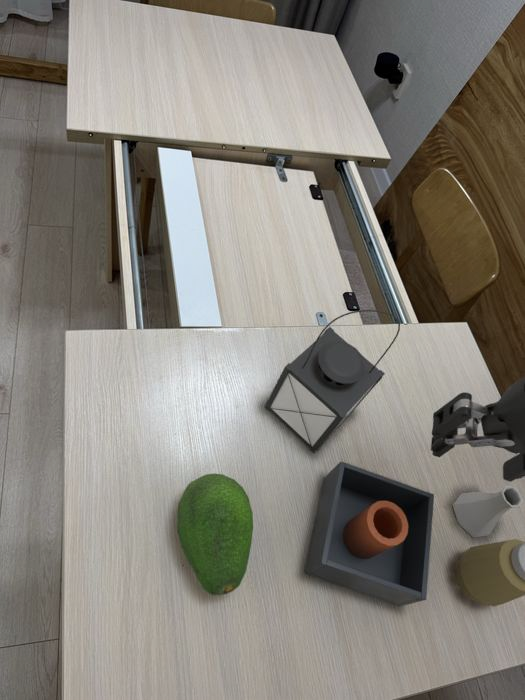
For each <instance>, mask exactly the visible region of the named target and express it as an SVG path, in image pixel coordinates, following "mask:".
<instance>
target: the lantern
mask: <svg viewBox="0 0 525 700" xmlns="http://www.w3.org/2000/svg"><path fill="white" fill-rule="evenodd" d="M363 312H375V313H381V314H386V315H389V316H391V317H392V318H394V320H396V323H397V324H398V325H397V331H396V334H395V335H394V338H393V339H392V341H391V343H389V345H388V347H387V348H386V350H385V351H384V352H383V354H382V355H381V356H380V358H379V359H378V360H377V362H375V364H373V363H372V362H371V361H369V360H368V359H367V358H366V357H365V356H364V355H362V353H361V352H360V351H359V350H358V348H356V347H355V346H353V345H351V344H350V343H349V342H347V341H346V340H345V339H344V338H342V336H340V335H339V334H338V333H337V332H336V331H335V330H334V329H333V328H332V327H331V326H330V325H332V324H333V323H334V322H335V321H337V320H339V319H341V318H343V317H345V316H348V315H352V314H355V313H363ZM400 331H401V323H400V320H399V318H398V317H396V315H394V314H392V313H390V312H388V311H384V310H379V309H378V310H377V309H360V310H354V311H350V312H347V313H344V314H342V315H339V316H337V317H335V318H334V319H332V320H331V321H330V322H328V324H326V326H325V327H324V328H323V329H322V330H321V332H320V333H319V334H318V336H317V338H316V340H314V341H313V343H311V344H310V345H309V346H308V347H307V348H305V350H303V352H301V353H299V355H298V356H297V357H296V358H295V359H294V360H292V361H291V362H289V363H287V364H286V365H285V366H284V368H283V369H282V371H281V374H280V376H279V377H278V379H277V381H276V383H275V385H274V387H273V389H272V391H271V393H270V395H269V397H268V399H267V401H266V403H265V405H264V408H265V409H266V410H267V411H269V412H270V413H271V414H273V415H274V416H275V417H276V418H277V419H278V420H279V421H280V422H282V424H283V425H284V426H285V427H287V429H289V430H290V431H291V432H292V433H293V434H294V435H295V436H296V437H297V438H298V439H299V440H300V441H302V443H304V444H305V445H306V446H307V447H308V448H309V450H310V451H311V452H312V453H313V454H315V453H316V452H317V451H319V450H320V448H322V446H323V445H324V444H326V442H327V441H328V439H329V438H331V436H332V435H333V434H334V433H335V432H336V431H337V429H338V428H339V427H340V426H341V425H342V424H343V422H345V420H346V419H348V417H349V416H351V414H353V413H354V411H355V409H356V408H357V407H358V406H359V405H360V404H361V403H362V401H363V400H364V399H365V398H366V397H367V396H368V395H369V393H370V392H371V391H372V390H373V389H374V388H375V387H376V386H377V384H378V383H379V382H380V381H381V380H382V379H383V377H384V376H385V375H386V373H385V372H384V371H383V370H382V369H379V368H378V367H377V366H378V364H379V363H380V362H381V360H382V359H383V358H384V356H385V355H387V354H386V353H387V352H388V351H389V350H390V348H391V347H392V345H393V344H394V342H395V341H396V339H397V338H398V336H399V333H400Z"/></svg>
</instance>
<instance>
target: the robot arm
mask: <svg viewBox="0 0 525 700" xmlns="http://www.w3.org/2000/svg"><path fill="white" fill-rule="evenodd" d="M480 424H481V428H482V429H481V430H482V434H483V435H478V431H479V429H478V427H479V425H480ZM459 429H465V431H464V433H460V434H459ZM430 441H431V442H430V451H432V456H434V457H437V458H441V457H442V456H444V455H445V454H446V453H448V452H449V451H452V449H453V448H455V447H456V446H459V445H469V446H470V447H471V448H480V447H481V448H483V447H494V448H500V449H504V450H506V451H507V452H508V453H512V454H514V456H513V457H511V458H510V459H507V460H505V461H504V462H503V464H502V479H503V480H504V481H507V482H513V481H514V480H519V479H523V478H524V477H525V374H524V375H523V376H521V377H520V378H519V379H518V380H517V381H515V382H514V383H513V384H511V385H510V386H509V387H508V388H507V389H506V390H505V391H504V393H503V394H502V395H501V397H500V398H499V400H497V401H496V402H493V403H489V404H485V405H482V404H479V403H477V402H475V401H473V395H472V394H471V393H469V392H465V391H464V392H460V393H458V394H457V395H456V396H454V397H453V398H452V399H451V400H449V401H447V403H445V404H444V405H443V406H441V407H439V409H438V410H437V409H436V411H435V412H433V415H432V430H431V440H430Z"/></svg>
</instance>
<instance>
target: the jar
mask: <svg viewBox="0 0 525 700" xmlns="http://www.w3.org/2000/svg"><path fill="white" fill-rule="evenodd" d="M407 534H408V522H407V518H406V516H405V514H404V513H403V511H402V509H401V508H399V507H398V506H397V505H396V504H394V503H392V502H389V501H378V502H376V503H374V504H373V505H371V506H370V507H368V508H367V509H365V510H364V511H362V512H361V513H360V514H358V515H357V516H355V517H354V518H352V519H351V520H350V521H349V522H348V523H347V524H346V526H345V528H344V533H343V537H344V542H345V544H346V546H347V548H348V550H349V551H350V552H351V553H352V554H353V555H355V556H357V557H359V558H363V559H367V558H371V557H374V556H376V555H378V554H380V553H382V552H384V551H386V550H388V549H390V548H392V547H394V546H396V545H398V544H400V543H401V542H403V541H404V540H405V538H406V536H407Z"/></svg>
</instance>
